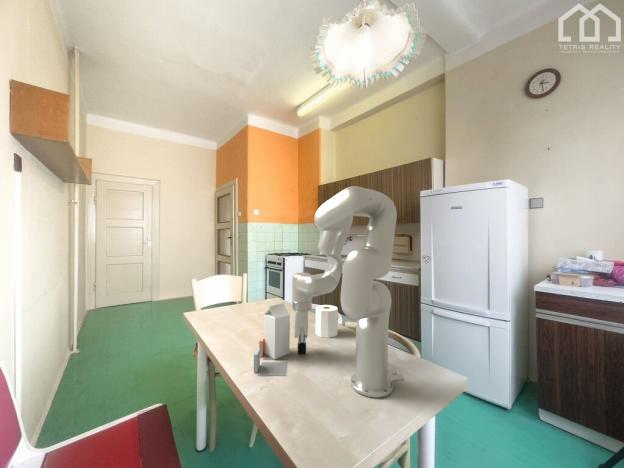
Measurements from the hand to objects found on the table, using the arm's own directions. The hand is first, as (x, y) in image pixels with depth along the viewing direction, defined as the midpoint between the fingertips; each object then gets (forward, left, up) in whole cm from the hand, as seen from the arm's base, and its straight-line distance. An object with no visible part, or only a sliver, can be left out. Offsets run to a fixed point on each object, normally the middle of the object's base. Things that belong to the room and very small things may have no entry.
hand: (301, 353), depth 101 cm
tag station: (+10, +5, 0) cm, 11 cm away
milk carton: (+10, 0, -1) cm, 10 cm away
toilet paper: (-11, -21, -1) cm, 24 cm away
